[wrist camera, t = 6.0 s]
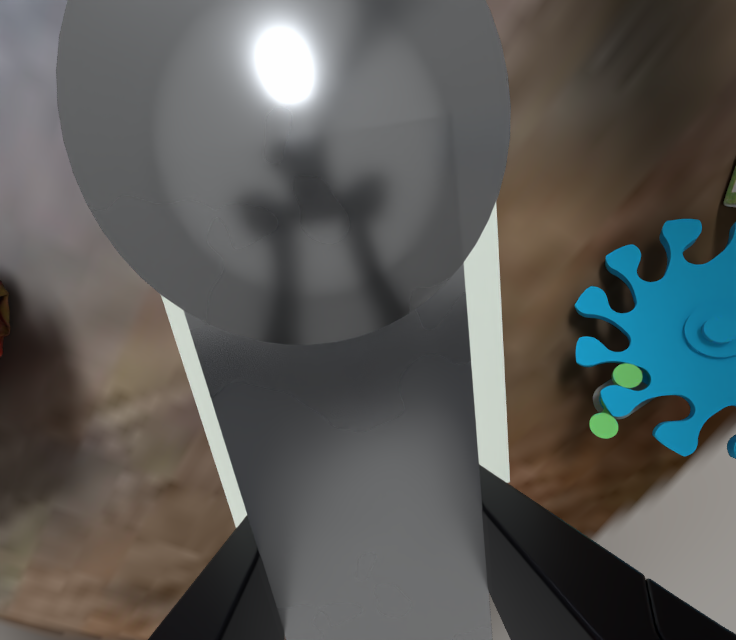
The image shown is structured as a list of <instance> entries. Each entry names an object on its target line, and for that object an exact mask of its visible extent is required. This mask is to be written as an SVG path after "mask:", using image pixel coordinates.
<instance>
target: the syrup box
mask: <svg viewBox="0 0 736 640" xmlns="http://www.w3.org/2000/svg"><path fill="white" fill-rule="evenodd" d="M724 205H725V206H729V207H736V166H735V169H734V172H733V175H732V178H731V181H730V184H729V187H728V189H727V193H726V196H725V200H724Z"/></svg>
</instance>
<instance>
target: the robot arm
mask: <svg viewBox="0 0 736 640" xmlns="http://www.w3.org/2000/svg"><path fill="white" fill-rule="evenodd" d="M479 471H480V484H481V497H482V519H483V532H484V545H485V558H486V571H487V584H488V590H489V593H490V595H491V597H492V600H493V602H494V604H495V606H496V608H497V611H498V613H499V615H500V617H501V619H502V621H503V624H504V626H505V628H506V630H507V632H508V635H509V637H510V639H511V640H736V634H734V633H733V632H731V631H729V630H728V629H726V628H725V627H723V626H721V625H720V624H718V623H717V622H715V621H714V620H712V619H710V618H709V617H707V616H706V615H704V614H703V613H701V612H700V611H698V610H696V609H695V608H693V607H692V606H690V605H689V604H687V603H686V602H684V601H683V600H681V599H679V598H678V597H676V596H675V595H673V594H672V593H670V592H669V591H667V590H666V589H664V588H663V587H661V586H660V585H659V584H657V583H656V582H654V581H653V580H651V579H646V580H645V576H644V575H643V574H642V573H640V572H638V571H637V570H636V569H634V568H633V567H631V566H630V565H628V564H627V563H625V562H624V561H622V560H621V559H619V558H618V557H617V556H615V555H614V554H612V553H611V552H609V551H608V550H606V549H605V548H603V547H602V546H600V545H599V544H597V543H596V542H594V541H593V540H591V539H590V538H588V537H587V536H585V535H584V534H582V533H581V532H579V531H578V530H576V529H575V528H573V527H572V526H570V525H569V524H567V523H566V522H564V521H563V520H561V519H560V518H558V517H557V516H555V515H554V514H553V513H551V512H550V511H548V510H547V509H545V508H544V507H542V506H541V505H539V504H538V503H536V502H535V501H533V500H532V499H530V498H529V497H527V496H526V495H524V494H523V493H521V492H520V491H518V490H517V489H515V488H514V487H512V486H511V485H509V484H508V483H506V482H505V481H503V480H502V479H500V478H499V477H497V476H496V475H494V474H493V473H491V472H490V471H489V470H487V469H486V468H484V467H483V466H481V465H480V464H479ZM284 635H285V632H284V629H283V626H282V622H281V619H280V616H279V613H278V609H277V606H276V603H275V600H274V597H273V593H272V590H271V587H270V584H269V581H268V577H267V574H266V571H265V568H264V564H263V561H262V558H261V555H260V554H259V551H258V548H257V545H256V541H255V538H254V535H253V532H252V529H251V525H250V522H249V519H248V516H246V517H245V518H244V519H243V521H242V522H241V523H240V524H239V526H238V527H237V528H236V529H235V531H234V532H233V533H232V534H231V536H230V537H229V538H228V539H227V541H226V542H225V543H224V544H223V546H222V547H221V548H220V550H219V551H218V552H217V553H216V555H215V556H214V557H213V558H212V560H211V561H210V562H209V563H208V565H207V566H206V567H205V568H204V570H203V571H202V572H201V573H200V575H199V576H198V577H197V578H196V580H195V581H194V582H193V583H192V585H191V586H190V587H189V588H188V590H187V591H186V592H185V594H184V595H183V596H182V597H181V599H180V600H179V601H178V602H177V604H176V605H175V606H174V607H173V609H172V610H171V611H170V612H169V614H168V615H167V616H166V617H165V619H164V620H163V621H162V622H161V624H160V625H159V626H158V627H157V629H156V630H155V631H154V632H153V634H152V635H151V636H150V638H149V639H148V640H284Z"/></svg>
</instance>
